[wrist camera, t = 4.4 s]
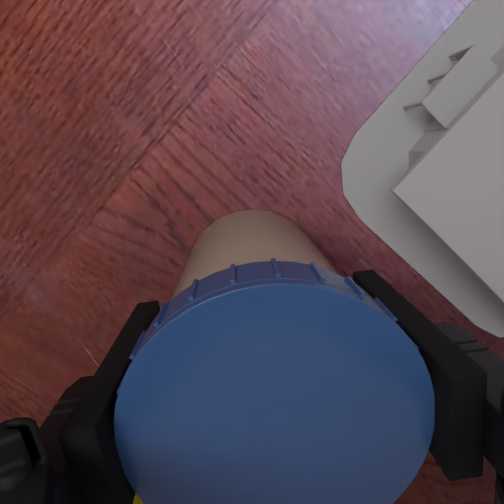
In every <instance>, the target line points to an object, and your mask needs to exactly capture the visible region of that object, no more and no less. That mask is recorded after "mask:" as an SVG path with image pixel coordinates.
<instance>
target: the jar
mask: <svg viewBox="0 0 504 504" xmlns="http://www.w3.org/2000/svg"><path fill="white" fill-rule="evenodd" d="M271 258H275V259H276V261H291V262H298V263H303V264H309V265H310V264H311V262H313V263H315V264H316V265H317V267H320V268H323V269H326V270H329V271H332V272H334V273H336V274H338V275H340V274H339V273H338V272H337V270H336V269H335V268H334V267H333V266H332V264H331V263H330V262H329V261H328V260H327V258H326V257H325V256H324V255H323V254H322V252H321V251H320V250H319V249H318V248H317V246H316V245H315V244H314V243H313V241H312V240H311V239H310V238H309V237H308V235H307V234H306V233H305V232H304V231H303V230H302V229H301V228H300V227H299V226H298V225H297V224H295V223H294V222H293V221H291V220H290V219H288V218H286V217H284V216H282V215H279V214H277V213H274V212H270V211H265V210H244V211H238V212H234V213H231V214H228V215H226V216H224V217H222V218H220V219H218V220H216V221H215V222H213V223H212V224H211V225H210V226H208V227H207V228H206V229H205V230H204V231H203V232H202V233H201V234H200V235H199V237H198V238H197V240H196V241H195V243H194V245H193V247H192V249H191V251H190V253H189V255H188V258H187V260H186V263H185V265H184V268H183V270H182V272H181V275H180V277H179V280H178V282H177V285H176V287H175V289H174V292H173V294H172V297H171V299H170V301H171V300H172V299H173V298H175V297H176V296H177V295H178V294H179V293H180V292H182V291H183V290H185V289H186V288H188V287H189V286H191V285H192V283H193V280H195V279H198V281H199V280H201V279H203V278H205V277H207V276H209V275H211V274H213V273H215V272H218V271H221V270H224V269H227V268H230V265H231V264H235V266H237V265H242V264H247V263H252V262H262V261H271ZM340 276H341V275H340Z"/></svg>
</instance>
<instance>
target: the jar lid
mask: <svg viewBox="0 0 504 504" xmlns="http://www.w3.org/2000/svg"><path fill="white" fill-rule="evenodd" d="M397 320H398V319H397V318H396V317H395V316H394V315H393V314H392V313H391V311H390V310H389V309H388V308H387V307H386V306H385V305H384V304H383V303H382V302H381V301H380V300H379V299H378V298H377V297H376V298H375V299H373V298H372V297H371V296H370V295H369V294H368V293H367V292H365V291H364V290H363V289H362V288H361V287H359V286H358V285H357V284H356V283H355V282H354V281H353V280H352V278H351V277H349V276H347V277H346V278H345V277H342V276H340V275H338V274H336V273H334V272H332V271H329V270H326V269H323V268H320V267H317V265H316V264H315V263H313V262H311V264H310V265H309V264H303V263H298V262H291V261H276V259H275V258H271V261H262V262H252V263H247V264H242V265H237V266H235V264H231V265H230V268H227V269H224V270H221V271H218V272H215V273H213V274H211V275H209V276H207V277H205V278H203V279H201V280H199V281H198V279H195V280H193V283H192V285H191V286H189V287H188V288H186V289H185V290H183V291H182V292H180V293H179V294H178V295H177V296H176V297H175V298H173V299H172V300H171V301H170V302H169V303H166V302H165V303H164V304H163V305H162V307H161V309H160V312H159V314H158V315H157V316H156V317H155V319H154V320H153V322H152V323H151V325H150V326H149V328H148V329H147V331H146V332H144V331H142V333H141V335H140V337H139V339H138V341H137V343H136V345H135V347H134V349H133V351H132V353H131V355H130V357H129V358H130V359H132V362H131V363H130V365H129V367H128V369H127V371H126V373H125V375H124V378H123V380H122V382H121V384H120V386H119V388H118V390H117V394H118V397H117V400H116V404H115V413H114V441H115V444H116V448H117V451H118V455H119V458H120V462H121V465H122V468H123V471H124V474H125V476H126V478H127V480H128V482H129V483H130V485H131V487H132V489H133V490H134V491H135V493H136V494H137V495H138V497H139V498H140V499H141V500H142V502H143V503H144V504H393V503H394V502H395V501H396V500H397V499H398V498H399V497H400V496H401V495H402V493H403V492H404V491H405V490H406V489H407V487H408V486H409V485H410V483H411V482H412V481H413V479H414V478H415V476H416V475H417V473H418V471H419V469H420V467H421V466H422V464H423V462H424V460H425V457H426V455H427V452H428V450H429V447H430V444H431V440H432V436H433V431H434V421H435V395H434V390H433V385H432V381H431V377H430V374H429V371H428V369H427V367H426V364H425V362H424V359H423V357H422V356H421V354H420V353H419V348H418V346H417V345H416V344H415V343H414V342H413V341H412V340H411V339H410V338H409V337H408V336H407V335H406V333H405V332H404V331H403V330H402V329H401V328H400V326H399V325H398V324H397V323H396V321H397Z"/></svg>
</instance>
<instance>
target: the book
mask: <svg viewBox="0 0 504 504" xmlns="http://www.w3.org/2000/svg"><path fill="white" fill-rule="evenodd" d="M341 171H342V185H343V194H344V196H345V197H346V199H347V200H348V202H349V204H350V205H351V207H352V208H353V210H354V211H355V213H356V214H357V216H358V217H359V219H360V220H361V221H362V222H363V223H364V224H365V225H366V226H368V227H369V228H370V229H371V230H372V231H373V232H374V233H375V234H376V235H377V236H379V237H380V238H381V239H382V240H383V241H384V242H385V243H386V244H387V245H388V246H389V247H391V248H392V249H393V250H394V251H395V252H396V253H397V254H398V255H399V256H400V257H401V258H403V259H404V260H405V261H406V262H407V263H408V264H409V265H410V266H411V267H412V268H413V269H415V270H416V271H417V272H418V273H419V274H420V275H421V276H422V277H423V278H424V279H426V280H427V281H428V282H429V283H430V284H431V285H432V286H433V287H434V288H435V289H436V290H438V291H439V292H440V293H441V294H442V295H443V296H444V297H445V298H446V299H447V300H448V301H450V302H451V303H452V304H453V305H454V306H455V307H456V308H457V309H458V310H459V311H460V312H462V313H463V314H464V315H465V316H466V317H467V318H468V319H469V320H470V321H471V322H473V323H474V324H475V325H476V326H477V327H479V328H481V329H483V330H485V331H487V332H489V333H491V334H493V335H495V336H497V337H504V0H473V1H472V2H471V3H470V4H469V5H468V7H467V8H466V9H465V10H464V11H463V12H462V13H461V14H460V16H459V17H458V18H457V19H456V20H455V21H454V22H453V24H452V25H451V26H450V27H449V28H448V29H447V30H446V31H445V33H444V34H443V35H442V36H441V37H440V38H439V39H438V41H437V42H436V43H435V44H434V45H433V46H432V47H431V48H430V50H429V51H428V52H427V53H426V54H425V55H424V56H423V58H422V59H421V60H420V61H419V62H418V63H417V64H416V65H415V67H414V68H413V69H412V70H411V71H410V72H409V73H408V75H407V76H406V77H405V78H404V79H403V80H402V81H401V82H400V84H399V85H398V86H397V87H396V88H395V89H394V90H393V92H392V93H391V94H390V95H389V96H388V97H387V98H386V99H385V101H384V102H383V103H382V104H381V105H380V106H379V107H378V109H377V110H376V111H375V112H374V113H373V114H372V115H371V116H370V118H369V119H368V120H367V121H366V122H365V123H364V124H363V126H362V127H361V128H360V129H359V130H358V131H357V132H356V133H355V135H354V137H353V139H352V141H351V143H350V145H349V147H348V149H347V151H346V153H345V155H344V157H343V159H342V161H341Z"/></svg>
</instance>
